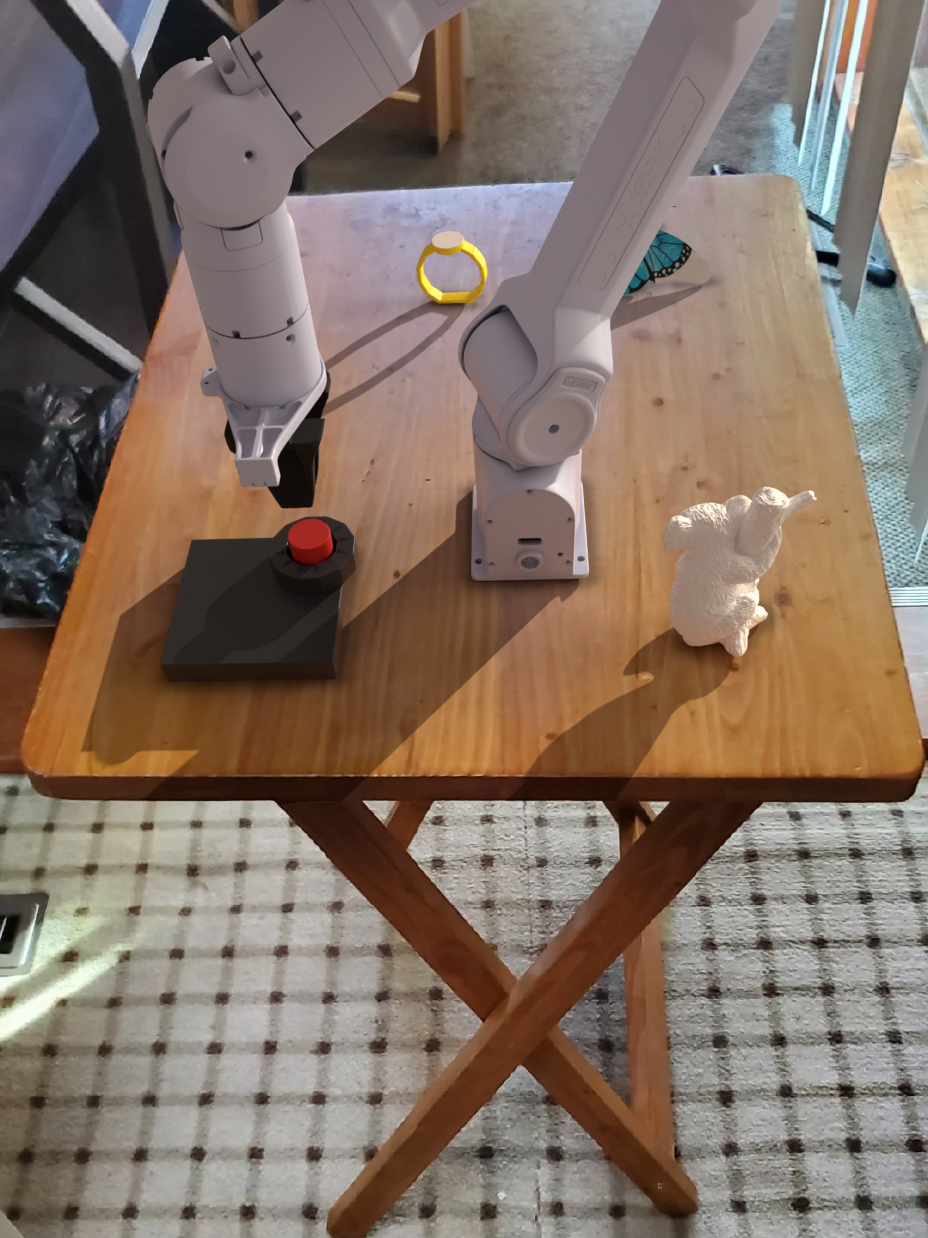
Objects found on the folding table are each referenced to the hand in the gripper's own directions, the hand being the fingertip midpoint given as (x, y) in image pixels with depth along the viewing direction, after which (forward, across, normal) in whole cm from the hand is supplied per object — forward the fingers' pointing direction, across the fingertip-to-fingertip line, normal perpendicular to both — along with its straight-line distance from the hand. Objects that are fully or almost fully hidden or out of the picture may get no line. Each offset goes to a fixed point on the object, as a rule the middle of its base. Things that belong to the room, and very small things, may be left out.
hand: (299, 492), depth 68 cm
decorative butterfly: (+9, -37, +24) cm, 45 cm away
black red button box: (+8, +3, -4) cm, 10 cm away
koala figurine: (+9, +5, +26) cm, 28 cm away
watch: (+9, -33, +8) cm, 35 cm away
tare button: (+5, 0, 0) cm, 5 cm away
